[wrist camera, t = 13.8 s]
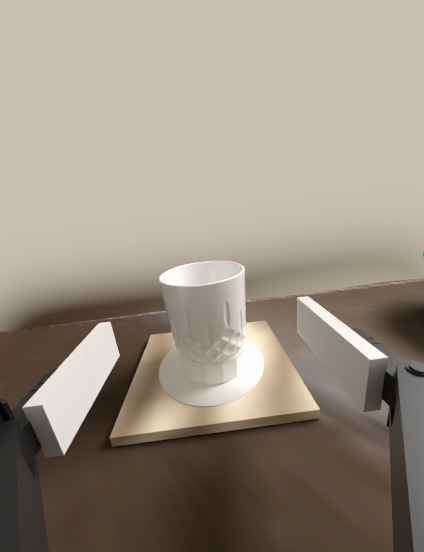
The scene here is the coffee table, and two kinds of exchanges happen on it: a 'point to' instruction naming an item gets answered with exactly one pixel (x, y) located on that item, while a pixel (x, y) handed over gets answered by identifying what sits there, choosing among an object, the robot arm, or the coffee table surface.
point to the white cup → (207, 318)
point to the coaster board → (211, 393)
